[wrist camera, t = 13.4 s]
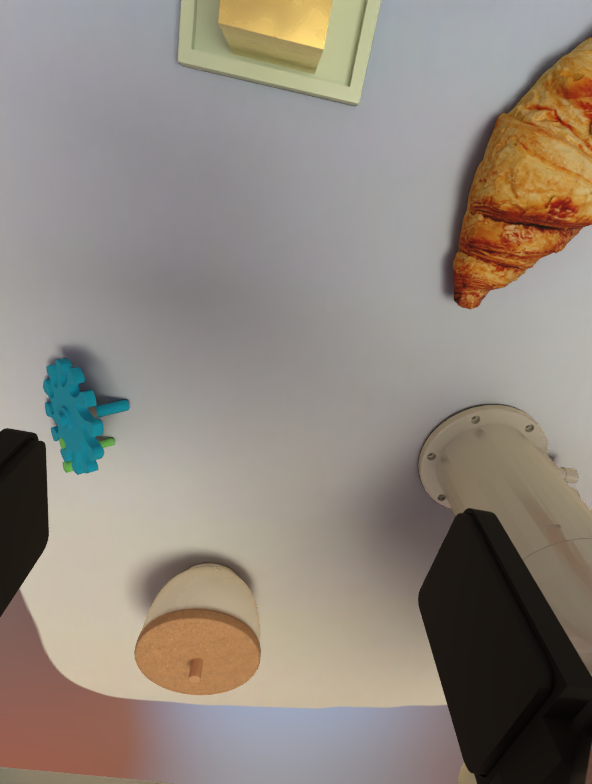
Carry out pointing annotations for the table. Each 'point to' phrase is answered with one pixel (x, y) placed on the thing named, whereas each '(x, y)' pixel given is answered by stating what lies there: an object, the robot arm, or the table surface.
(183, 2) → the tray
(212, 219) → the table surface
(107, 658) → the table surface
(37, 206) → the table surface
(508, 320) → the table surface
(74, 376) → the gear
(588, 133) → the croissant
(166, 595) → the lidded bowl
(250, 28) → the wooden block
